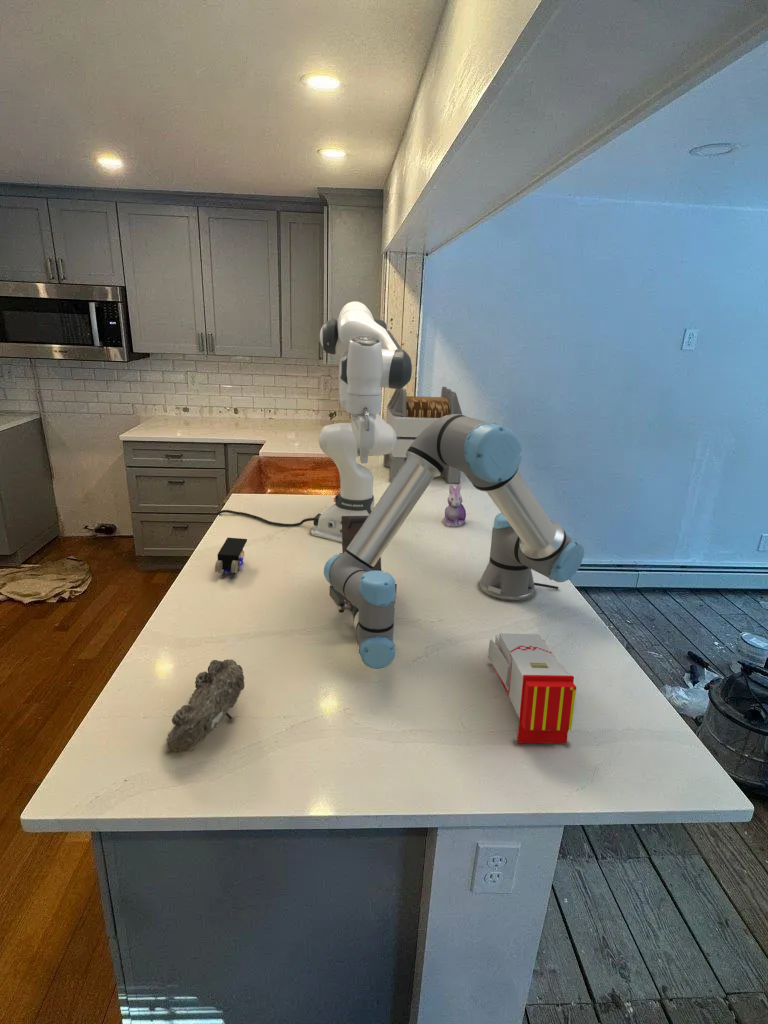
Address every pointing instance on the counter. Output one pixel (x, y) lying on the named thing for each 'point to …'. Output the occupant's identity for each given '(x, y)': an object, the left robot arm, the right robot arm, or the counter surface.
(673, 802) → the counter surface
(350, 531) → the lid
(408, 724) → the counter surface
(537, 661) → the toy
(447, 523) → the figurine
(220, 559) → the black toy vehicle
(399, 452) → the transformer
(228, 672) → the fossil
